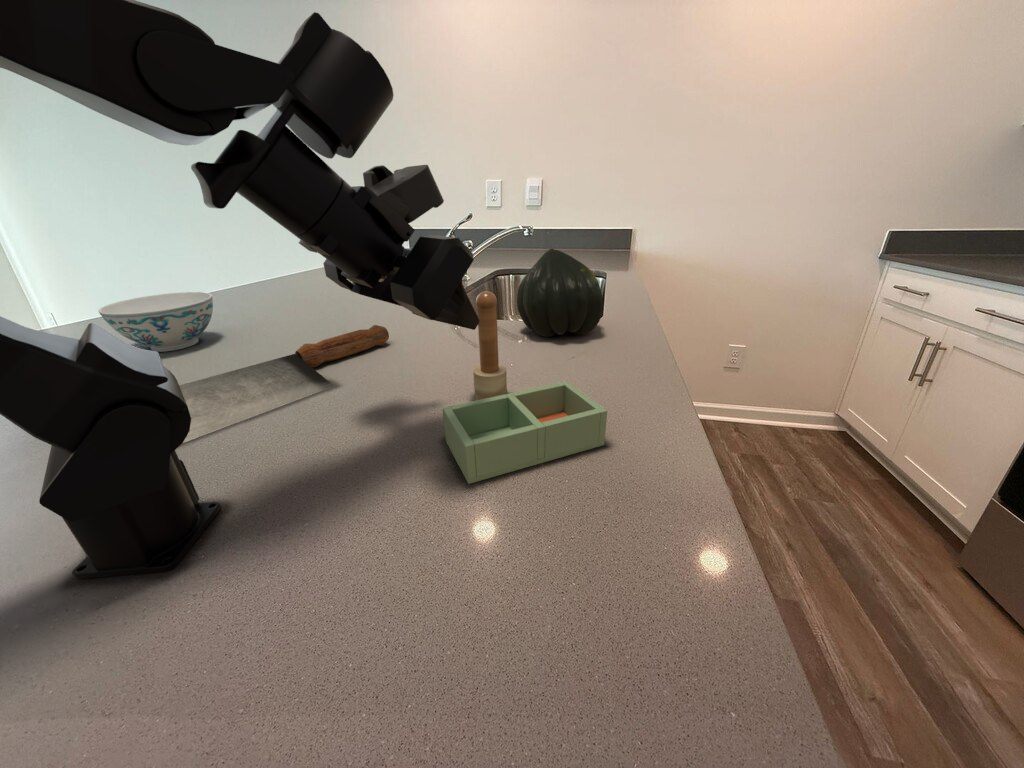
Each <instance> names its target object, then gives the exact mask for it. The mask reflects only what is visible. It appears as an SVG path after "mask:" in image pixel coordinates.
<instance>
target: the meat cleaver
mask: <svg viewBox="0 0 1024 768" xmlns="http://www.w3.org/2000/svg"><path fill="white" fill-rule="evenodd" d="M389 339H390V333H389V331H388V328H386V326H381V325H379V324H373V325H372V326H370V327H369V328H368V329H366V328H365V329H357V330H353V331H350V332H345V333H342V334H339V335H335V336H332V337H329V338H328V337H327V338H325V339H322V340H320V341H318V342H316V343H303V344H302V345H301V346H300V347H299V348H298V349H297V350H296V351H295V352H294V353H292V354H290V355H285V356H282V357H278V358H274V359H269V360H267V361H264V362H260V363H256V364H252V365H248V366H245V367H241V368H238V369H233V370H230V371H227V372H223V373H219V374H216V375H211V376H208V377H205V378H201V379H198V380H194V381H190V382H188V383H187V382H186V383H183V384H179V386H180V389H181V391H182V394H183V396H184V399H185V401H186V404H187V406H188V410H189V413H190V416H191V424H190V431H189V433H188V435H187V436H186V438H185V440H184V442H183V443H182V444H185V443H187V442H190V441H192V440H194V439H197V438H200V437H203V436H206V435H208V434H211V433H214V432H217V431H218V430H222V429H224V428H227V427H229V426H231V425H232V426H233V425H234V424H237V423H241V422H243V421H245V420H248V419H250V418H253V417H256V416H259V415H261V414H264V413H267V412H269V411H272V410H275V409H278V408H280V407H282V406H285V405H288V404H290V403H293V402H296V401H299V400H301V399H303V398H307V397H309V396H311V395H315V394H317V393H320V392H322V391H325V390H328V389H330V388H333V387H334V384H333V383H331V382H330V381H329V380H328V379H326V377H324V376H323V375H321V374H320V373H319V372H318V371H317V370H316V369H315V368H316V367H318V366H320V365H322V364H323V363H328V362H333V361H336V360H339V359H342V358H345V357H350V356H351V355H355V354H358V353H361V352H364V351H368V350H370V349H371V348H373V347H382V346H384V345H385V344H386V343H387V342H388V340H389Z"/></svg>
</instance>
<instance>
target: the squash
mask: <svg viewBox="0 0 1024 768" xmlns="http://www.w3.org/2000/svg"><path fill="white" fill-rule="evenodd" d="M516 307H517V311H518V314H519V316H520V319H521V320H522V322H523V324H524V325H525V326H526V327H527V329H529V330H530V331H532V332H534V333H536V334H538V335H539V336H542V337H546V338H547V337H548V338H549V337H554V336H555V335H556V334H557V335H564V334H565V333H566V332H570V333H572V334H574V335H578V336H579V335H585V334H588V333H590V332H592V331H593V330H594V329H595V328H596V327H597V326H598V324H599V323H600V320H601V319H602V314H603V310H604V298H603V292H602V290H601V286H600V283H599V281H598V278H597V277H596V275H595V274H594V273H593V271H592V270H591V268H589V267H588V266H587V265H586V264H584V263H582V262H581V261H579V260H577V259H576V258H575V257H573V256H572V255H569V254H568V253H565V252H564V251H562V250H559V249H554V248H549V249H548V250H547V251H546V252H544V253H543V254H542V255H541V256H540V257H539V259H538V260H537V261H536V262H535V263H534V265H533V266H532V267H531V268H530V269H529V270H528V271H527V273H526V274H525V275H524V277H523V278H522V280H521V282H520V284H519V286H518V288H517V292H516Z"/></svg>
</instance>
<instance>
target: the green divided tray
mask: <svg viewBox="0 0 1024 768" xmlns="http://www.w3.org/2000/svg"><path fill="white" fill-rule="evenodd" d="M442 417H443V427H444V435H445V436H444V437H445V442H446V444H447V446H448V448H449V450H450V452H451V454H452V456H453V457H454V460H455V461H456V463H457V465H458V467H459V469H460V471H461V472H462V475H463V477H464V478H465V480H466V482H467V484H468V485H471V484H475V483H478V482H481V481H484V480H487V479H492V478H494V477H498V476H501V475H505V474H509V473H512V472H515V471H520V470H522V469H526V468H529V467H533V466H537V465H540V464H543V463H547V462H550V461H554V460H557V459H561V458H564V457H567V456H571V455H575V454H578V453H582V452H585V451H588V450H589V451H590V450H591V449H595V448H598V447H602V446H605V441H606V429H607V420H608V419H607V418H608V410H607V409H606V408H604V407H603V406H601V405H600V404H599V403H597V401H595V400H594V399H592V398H591V397H589V396H588V395H587V394H585V393H584V392H583V391H582V390H580V389H579V388H577V387H576V386H575V385H574V384H572V383H570V382H569V381H568V380H567V381H566V380H565V381H562V382H557V383H552V384H546V385H543V386H538V387H533V388H527V389H523V390H519V391H515V392H512V393H511V392H510V393H507V394H506V395H500V396H495V397H491V398H486V399H481V400H476V401H475V400H472V401H468V402H463V403H459V404H453V405H450V406H445V407H442Z"/></svg>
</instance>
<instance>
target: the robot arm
mask: <svg viewBox="0 0 1024 768" xmlns="http://www.w3.org/2000/svg"><path fill="white" fill-rule="evenodd" d="M0 69H3V70H6V71H9V72H12V73H13V74H16V75H18V76H20V77H23V78H24V79H27V80H28V81H29V80H30V81H32V82H34V83H37V84H39V85H41V86H43V87H45V88H47V89H49V90H51V91H54V92H55V93H58V94H59V95H61V96H64V97H66V98H67V99H69V100H72V101H74V102H76V103H78V104H80V105H81V106H83V107H86V108H88V109H90V110H91V111H94V112H96V113H97V114H100V115H102V116H105V117H107V118H109V119H112V120H114V121H116V122H119V123H121V124H123V125H125V126H128V127H131V129H135V130H137V131H140V132H142V133H144V134H147V136H150V137H153V138H155V139H158V140H160V141H163V142H166V143H168V144H173V145H178V146H179V145H180V146H186V147H187V146H196V145H200V144H202V143H204V142H206V141H207V140H209V139H211V138H213V137H215V136H216V135H218V134H220V133H221V132H223V131H225V130H226V129H228V128H229V127H230V125H231V124H232V123H233V122H234V121H242V120H247V119H249V118H251V117H252V116H255V114H258V113H259V112H262V111H263V110H265V109H266V108H268V107H270V106H271V105H273V107H275V108H276V111H274V113H273V115H272V116H271V117H270V118H269V120H268V121H267V122H266V123H265V125H264V126H263V128H262V129H261V130H260V132H258V134H257V135H256V134H254V133H252V132H250V131H248V130H244V129H239V130H237V131H236V132H235V134H234V135H233V137H232V138H231V139H230V140H229V141H228V143H227V145H226V146H225V147H224V148H223V150H222V151H221V153H220V154H219V155H218V157H217V158H216V159H215V160H214V162H203V161H197V162H193V163H192V164H191V165H190V168H191V171H192V172H193V174H194V175H195V176H196V179H197V180H198V183H199V186H200V190H201V193H202V198H203V204H204V205H205V206H206V207H207V208H210V209H218V210H219V209H220V210H222V209H225V208H226V207H227V206H228V205H229V203H230V202H231V200H232V199H233V198H234V197H235V195H236V194H238V195H239V196H241V198H243V199H245V200H246V201H248V202H249V203H250V204H251V205H253V206H255V207H256V208H257V209H258V210H260V211H261V212H263V213H264V214H265V215H267V216H268V217H269V218H270V219H272V220H273V221H274V222H276V223H277V224H279V225H280V226H282V227H283V228H284V229H285V230H287V231H288V232H290V233H291V234H292V235H294V236H295V237H296V238H297V239H299V241H298V244H299V245H300V246H302V247H303V248H304V249H306V250H307V251H308V252H312V253H316V254H319V255H320V256H322V257H323V258H324V259H325V260H324V261H323V269H324V274H325V277H326V278H328V279H329V280H330V281H332V282H334V283H335V284H336V285H338V286H339V287H340V288H343V289H346V290H349V291H350V292H351V293H354V294H357V295H360V296H364V297H368V298H371V299H373V300H374V299H375V300H378V301H382V302H385V303H388V304H393V305H395V306H399V307H402V308H405V309H406V310H408V311H410V312H411V314H413V315H415V316H418V317H420V318H423V319H426V320H429V321H435V322H439V323H444V324H447V325H452V326H456V327H461V328H465V329H468V330H472V331H475V330H476V329H477V328H478V324H479V322H480V320H479V318H478V316H477V311H475V307H474V306H473V304H472V302H471V300H470V297H469V296H468V294H467V291H466V290H465V286H464V283H463V278H464V277H465V275H466V274H467V272H468V271H469V269H470V267H471V266H472V264H473V262H474V260H475V259H474V258H475V257H474V253H473V252H472V250H470V249H469V248H468V246H467V245H466V244H465V243H464V242H463V241H462V240H461V239H460V238H459V237H455V236H454V237H453V236H445V235H435V234H433V235H424V236H419V237H418V239H417V241H416V242H415V244H414V245H413V247H412V248H407V247H405V246H404V243H405V242H409V240H410V239H411V237H412V236H413V234H414V233H415V231H416V230H415V228H413V226H411V223H413V222H414V221H416V220H417V219H419V218H420V217H422V216H423V215H424V214H426V213H428V212H429V211H430V210H432V209H433V208H435V209H437V208H439V207H441V206H442V205H443V204H444V202H445V199H444V198H443V195H442V193H441V191H440V189H439V187H438V185H437V182H436V180H435V178H434V175H433V172H432V171H431V169H430V166H429V165H428V164H419V165H410V166H405V167H403V168H399V169H395V170H394V171H393V172H392V171H391V170H390V169H388V167H387V166H385V165H383V164H382V165H374V166H372V167H371V168H369V169H367V170H366V171H364V172H363V173H362V177H363V178H362V179H363V186H362V185H357V186H351V185H350V184H349V183H348V182H347V181H345V179H343V178H342V177H341V176H340V175H339V174H338V173H337V172H336V171H335V170H334V169H333V168H332V167H330V166H329V164H327V162H325V161H324V160H323V158H321V157H320V156H322V157H324V158H325V159H331V160H332V159H333V158H334V157H335V156H336V155H338V156H339V157H342V158H346V159H352V158H353V157H354V156H355V155H356V153H357V151H358V150H359V149H360V147H361V146H362V145H363V143H364V142H365V140H366V139H367V138H368V136H369V134H371V132H372V131H373V130H374V127H375V126H376V125H377V123H378V122H379V120H380V119H381V118H382V116H383V114H384V113H385V112H386V111H387V109H388V108H389V106H390V105H391V103H392V102H393V101H394V88H393V85H392V83H391V80H390V79H389V77H388V75H387V73H386V71H385V69H384V68H383V67H382V65H381V63H380V62H379V61H378V60H377V58H376V57H375V55H374V54H373V53H372V52H371V51H369V50H365V49H364V48H363V47H362V46H361V45H360V44H359V43H358V42H357V41H355V40H354V39H353V38H352V37H350V36H349V35H347V34H345V33H344V32H342V31H340V30H337V29H335V28H332V27H331V26H330V25H329V24H328V23H327V22H326V20H325V19H324V17H323V16H322V15H321V14H320V13H319V12H315V11H314V12H313V13H311V14H310V15H309V16H308V17H307V18H306V19H305V20H304V21H303V22H302V24H301V25H300V26H299V27H298V29H297V30H296V32H295V34H294V37H293V41H292V42H291V45H290V46H289V47H288V49H287V50H286V51H285V52H284V54H283V55H282V56H281V57H280V59H279V60H278V62H275V61H272V60H268V59H265V58H262V57H259V56H256V55H251V54H248V53H245V52H242V51H238V50H235V49H232V48H229V47H225V46H222V45H219V44H217V43H215V40H214V39H213V38H212V37H211V36H210V35H209V34H208V33H207V32H205V31H204V30H203V29H202V27H201V28H200V26H198V25H196V24H194V23H193V22H191V21H190V20H188V19H186V18H184V17H183V16H181V15H180V14H177V13H175V12H173V11H171V10H167V9H165V8H161V7H157V6H155V5H151V4H149V3H145V2H141V1H139V0H0ZM319 155H320V156H319ZM83 331H84V332H83V333H82V335H81V337H80V338H75V337H69V336H65V335H60V334H54V333H51V332H46V331H42V330H37V329H33V328H30V327H27V326H24V325H22V324H20V323H17V322H14V321H13V320H10V319H7V318H6V317H3V316H1V315H0V415H1V416H2V417H3V418H5V419H6V420H7V421H9V422H11V423H13V425H15V426H17V427H18V428H19V429H21V430H23V432H26V433H27V434H28V435H30V436H32V437H33V438H35V439H37V440H39V441H41V442H44V443H45V444H48V445H50V450H49V455H48V459H47V463H46V468H45V471H44V472H45V473H44V478H43V483H42V486H41V491H40V494H39V500H38V501H39V504H40V505H41V506H42V507H44V508H46V509H47V510H49V511H51V512H53V513H54V514H56V515H58V516H59V517H61V518H62V520H63V521H64V523H65V524H66V526H67V527H68V529H69V530H70V532H71V534H72V535H73V536H74V539H75V540H76V541H77V543H78V545H79V546H80V548H81V549H82V550H83V553H85V555H86V557H85V558H84V559H83V560H82V561H81V562H80V563H79V564H78V565H77V566H75V567H74V568H73V570H72V571H71V575H72V576H73V578H74V579H77V580H81V579H92V578H103V577H112V576H113V577H116V576H123V575H125V576H126V575H137V574H148V573H157V572H158V573H160V572H167V571H169V570H172V569H173V568H175V567H176V566H177V565H178V564H179V563H180V561H181V560H182V559H183V557H185V555H186V554H187V552H188V551H189V550H190V548H191V547H192V546H193V545H194V544H195V542H196V541H197V539H199V537H200V536H201V535H202V533H203V532H204V531H205V530H206V528H207V527H208V526H209V524H210V523H211V522H212V521H213V519H214V518H215V517H216V516H217V514H218V513H219V511H221V509H222V505H221V503H220V502H219V501H208V502H206V501H205V502H199V501H200V497H199V494H198V492H197V490H196V488H195V486H194V484H193V481H192V479H191V476H190V475H189V472H188V470H187V468H186V465H185V462H184V461H183V460H182V459H180V458H179V456H178V454H177V451H176V450H177V449H178V448H179V447H180V446H181V445H182V444H184V443H185V442H184V440H185V438H186V436H187V435H188V433H189V431H190V424H191V416H190V413H189V410H188V406H187V404H186V401H185V399H184V396H183V394H182V391H181V389H180V386H179V385H180V383H179V382H178V379H177V378H176V375H174V373H172V372H171V370H170V369H168V367H166V366H164V364H163V361H162V358H161V355H160V352H158V351H153V350H151V349H143V348H140V347H137V346H134V345H132V344H130V343H128V342H126V341H124V340H123V339H121V338H119V337H118V336H116V335H115V334H113V333H112V332H110V331H109V330H107V329H106V328H104V327H103V326H100V325H98V324H97V323H95V322H89V323H88V324H87V326H86V328H85V329H84V330H83ZM183 442H184V443H183Z"/></svg>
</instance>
